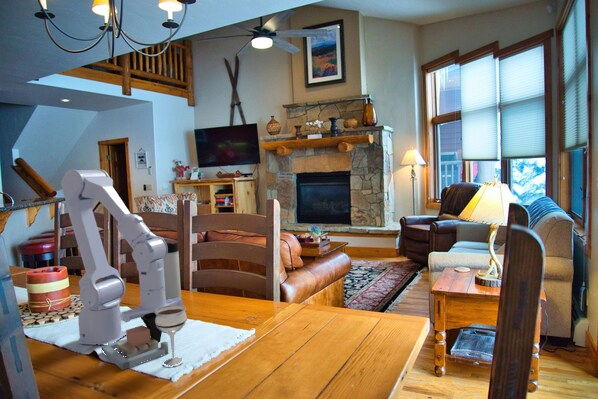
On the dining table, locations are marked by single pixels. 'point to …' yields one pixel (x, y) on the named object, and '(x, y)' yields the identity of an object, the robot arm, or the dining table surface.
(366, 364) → the dining table surface
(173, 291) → the travel mug
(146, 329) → the salmon pink block
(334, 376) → the dining table surface
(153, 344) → the pallet
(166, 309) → the wineglass
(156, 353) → the dock
